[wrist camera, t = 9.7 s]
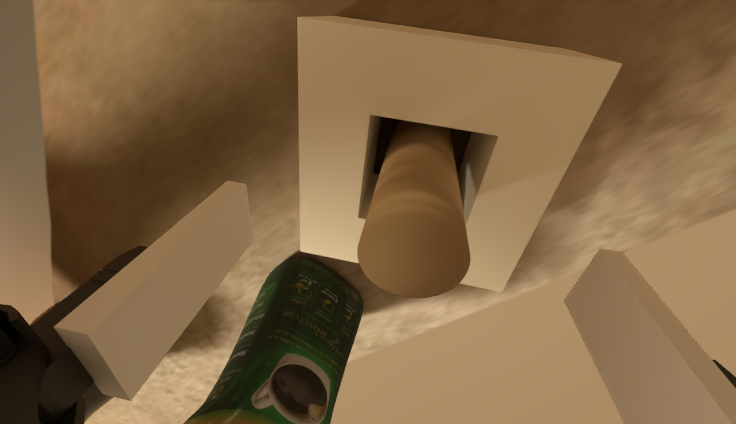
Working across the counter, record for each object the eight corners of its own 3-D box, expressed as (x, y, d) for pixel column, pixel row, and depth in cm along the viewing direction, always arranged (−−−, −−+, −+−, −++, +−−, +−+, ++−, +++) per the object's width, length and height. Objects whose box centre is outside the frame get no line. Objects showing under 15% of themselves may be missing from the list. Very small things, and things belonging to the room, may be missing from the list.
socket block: (325, 203, 25) (300, 251, 20) (334, 15, 18) (297, 16, 13) (486, 234, 24) (501, 292, 19) (565, 48, 17) (622, 63, 12)
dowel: (387, 162, 22) (352, 285, 12) (396, 106, 20) (363, 202, 10) (442, 172, 22) (452, 307, 12) (458, 116, 20) (486, 225, 10)
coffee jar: (258, 279, 32) (96, 533, 16) (301, 240, 28) (142, 526, 12) (329, 329, 34) (248, 589, 19) (378, 300, 30) (326, 598, 15)
